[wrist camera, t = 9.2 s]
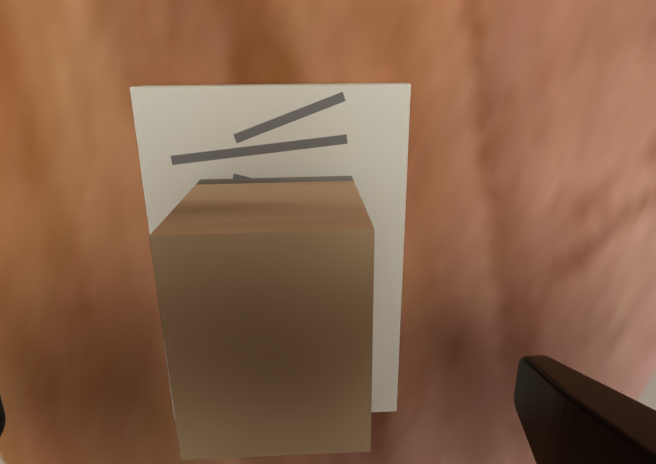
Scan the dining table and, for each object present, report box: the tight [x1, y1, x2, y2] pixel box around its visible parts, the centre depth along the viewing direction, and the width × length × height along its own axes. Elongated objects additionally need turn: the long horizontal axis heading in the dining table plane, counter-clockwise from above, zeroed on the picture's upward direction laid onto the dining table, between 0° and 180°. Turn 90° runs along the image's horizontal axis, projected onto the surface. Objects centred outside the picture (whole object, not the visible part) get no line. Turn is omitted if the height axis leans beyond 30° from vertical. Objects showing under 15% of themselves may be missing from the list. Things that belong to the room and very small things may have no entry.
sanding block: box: [149, 176, 375, 461], centre depth 12 cm, size 5×4×4 cm
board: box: [130, 83, 411, 420], centre depth 14 cm, size 10×7×1 cm
